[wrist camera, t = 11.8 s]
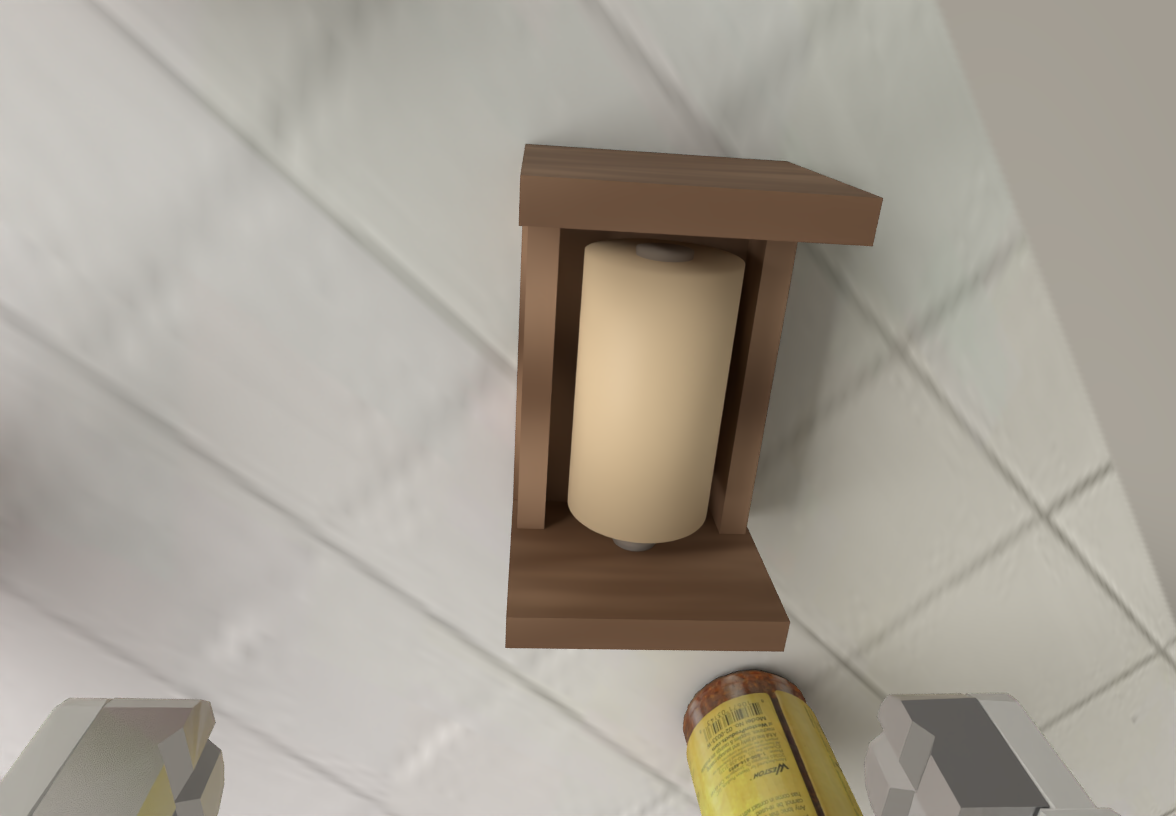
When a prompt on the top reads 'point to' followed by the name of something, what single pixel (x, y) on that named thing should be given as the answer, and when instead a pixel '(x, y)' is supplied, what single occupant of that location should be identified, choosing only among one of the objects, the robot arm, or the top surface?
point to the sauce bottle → (761, 751)
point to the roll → (650, 385)
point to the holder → (723, 543)
